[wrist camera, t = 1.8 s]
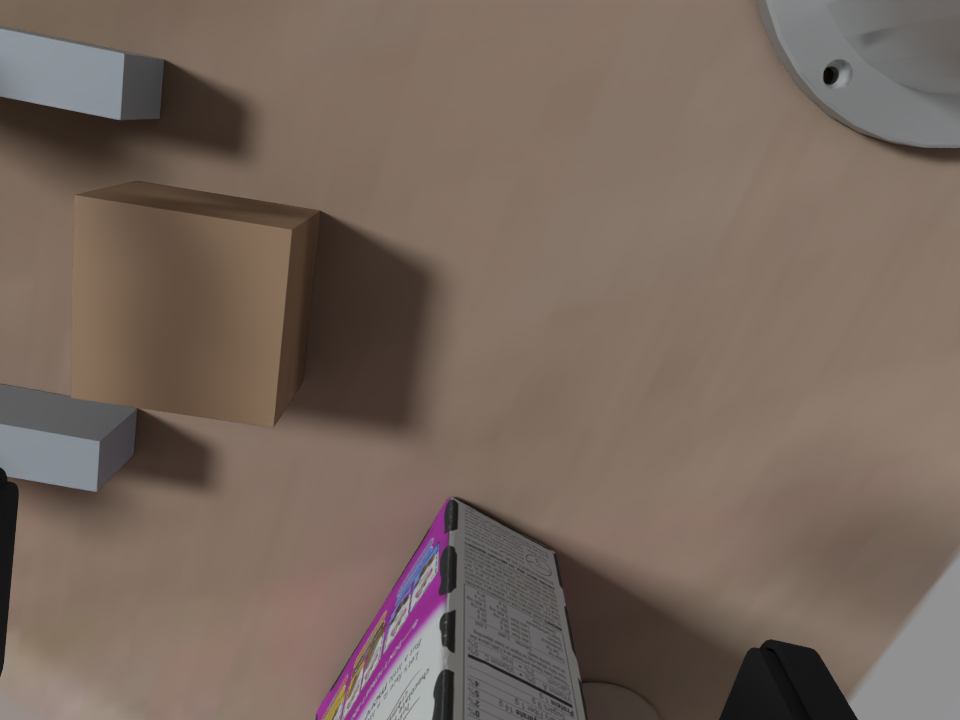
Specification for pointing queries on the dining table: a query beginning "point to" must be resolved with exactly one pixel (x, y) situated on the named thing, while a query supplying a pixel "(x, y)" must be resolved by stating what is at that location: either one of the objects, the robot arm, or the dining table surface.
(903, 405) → the dining table surface
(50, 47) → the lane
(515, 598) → the milk carton
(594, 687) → the beer glass
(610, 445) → the dining table surface
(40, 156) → the dining table surface
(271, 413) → the walnut block
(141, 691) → the dining table surface
